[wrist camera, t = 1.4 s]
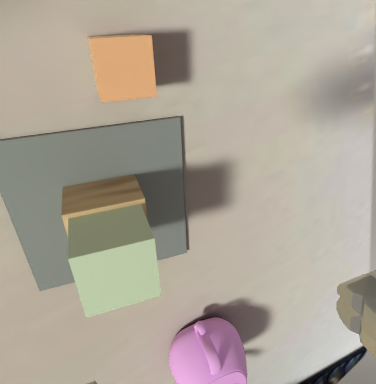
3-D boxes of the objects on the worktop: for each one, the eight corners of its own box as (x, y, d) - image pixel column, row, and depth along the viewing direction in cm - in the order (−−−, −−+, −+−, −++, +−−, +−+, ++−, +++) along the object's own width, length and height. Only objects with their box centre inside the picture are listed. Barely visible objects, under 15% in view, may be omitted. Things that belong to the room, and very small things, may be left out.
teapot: (154, 324, 50) (175, 397, 40) (227, 293, 52) (263, 355, 43) (177, 383, 60) (198, 452, 50) (236, 355, 63) (267, 416, 53)
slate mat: (-19, 141, 29) (-20, 143, 29) (178, 116, 34) (180, 117, 34) (40, 288, 39) (39, 291, 38) (185, 250, 44) (186, 252, 44)
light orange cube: (87, 36, 28) (90, 38, 24) (140, 33, 29) (151, 35, 25) (97, 92, 30) (101, 102, 26) (145, 87, 32) (156, 96, 28)
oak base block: (62, 187, 33) (61, 215, 28) (134, 174, 35) (144, 198, 30) (78, 243, 37) (79, 277, 32) (141, 228, 39) (152, 258, 34)
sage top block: (68, 218, 29) (68, 259, 24) (140, 203, 30) (154, 238, 25) (83, 272, 32) (86, 317, 27) (147, 256, 34) (161, 295, 29)
